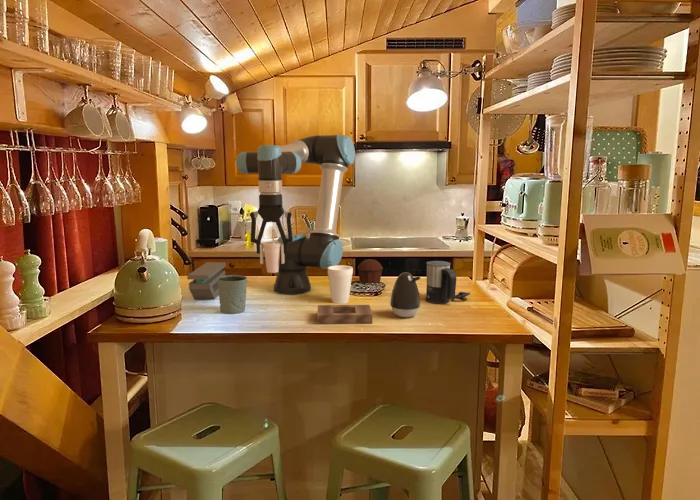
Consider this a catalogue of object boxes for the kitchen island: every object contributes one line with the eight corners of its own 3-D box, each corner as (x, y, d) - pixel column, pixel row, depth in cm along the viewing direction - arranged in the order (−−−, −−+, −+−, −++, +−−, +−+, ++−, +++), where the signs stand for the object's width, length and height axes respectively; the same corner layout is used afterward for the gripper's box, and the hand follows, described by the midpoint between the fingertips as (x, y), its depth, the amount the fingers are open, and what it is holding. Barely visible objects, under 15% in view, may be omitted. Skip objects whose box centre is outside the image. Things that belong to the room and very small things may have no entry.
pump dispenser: (412, 321, 172) (413, 277, 170) (384, 316, 178) (385, 273, 175) (425, 314, 181) (426, 271, 178) (398, 309, 186) (399, 268, 183)
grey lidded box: (207, 287, 217) (206, 262, 215) (226, 287, 217) (225, 262, 215) (188, 303, 192) (187, 275, 191) (209, 304, 192) (208, 275, 190)
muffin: (355, 279, 233) (356, 257, 232) (380, 279, 235) (380, 257, 233) (359, 285, 222) (359, 262, 220) (384, 285, 223) (385, 262, 221)
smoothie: (278, 274, 169) (277, 231, 167) (260, 273, 171) (258, 231, 168) (285, 270, 175) (283, 229, 173) (267, 269, 177) (265, 228, 174)
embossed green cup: (216, 308, 186) (215, 276, 184) (244, 305, 190) (243, 273, 188) (221, 316, 177) (220, 282, 175) (250, 313, 181) (249, 279, 179)
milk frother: (420, 300, 198) (421, 262, 196) (443, 293, 210) (444, 257, 207) (452, 308, 189) (453, 268, 186) (474, 299, 200) (476, 262, 197)
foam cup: (356, 299, 199) (356, 266, 197) (346, 305, 191) (346, 271, 188) (334, 297, 203) (334, 264, 201) (323, 302, 195) (323, 268, 192)
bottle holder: (317, 324, 169) (317, 315, 168) (317, 313, 181) (317, 305, 180) (372, 323, 170) (372, 314, 169) (369, 313, 182) (369, 304, 181)
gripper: (238, 194, 164) (241, 265, 168) (299, 194, 165) (300, 265, 169) (242, 192, 172) (245, 261, 176) (300, 192, 172) (301, 260, 177)
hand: (272, 262), depth 172 cm, fingers closed on smoothie, 6 cm apart
